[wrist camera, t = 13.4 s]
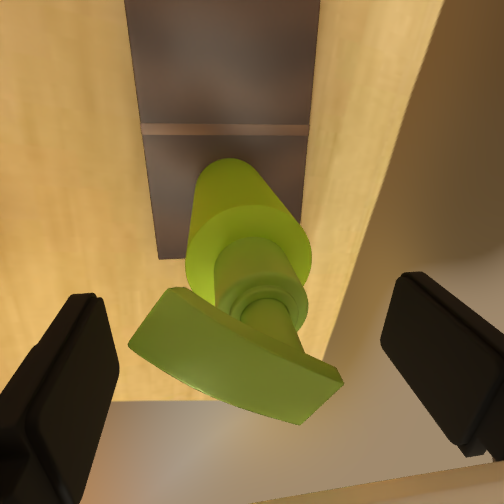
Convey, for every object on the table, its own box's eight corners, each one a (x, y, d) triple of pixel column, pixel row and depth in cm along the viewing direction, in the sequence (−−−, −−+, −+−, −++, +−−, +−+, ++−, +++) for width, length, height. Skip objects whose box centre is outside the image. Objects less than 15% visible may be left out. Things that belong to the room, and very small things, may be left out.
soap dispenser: (209, 134, 23) (223, 221, 5) (277, 185, 26) (440, 361, 8) (170, 195, 25) (78, 419, 7) (237, 238, 27) (297, 483, 9)
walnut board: (120, -60, 19) (114, -73, 18) (317, -43, 21) (325, -54, 19) (160, 252, 29) (158, 260, 27) (293, 246, 30) (297, 253, 29)
